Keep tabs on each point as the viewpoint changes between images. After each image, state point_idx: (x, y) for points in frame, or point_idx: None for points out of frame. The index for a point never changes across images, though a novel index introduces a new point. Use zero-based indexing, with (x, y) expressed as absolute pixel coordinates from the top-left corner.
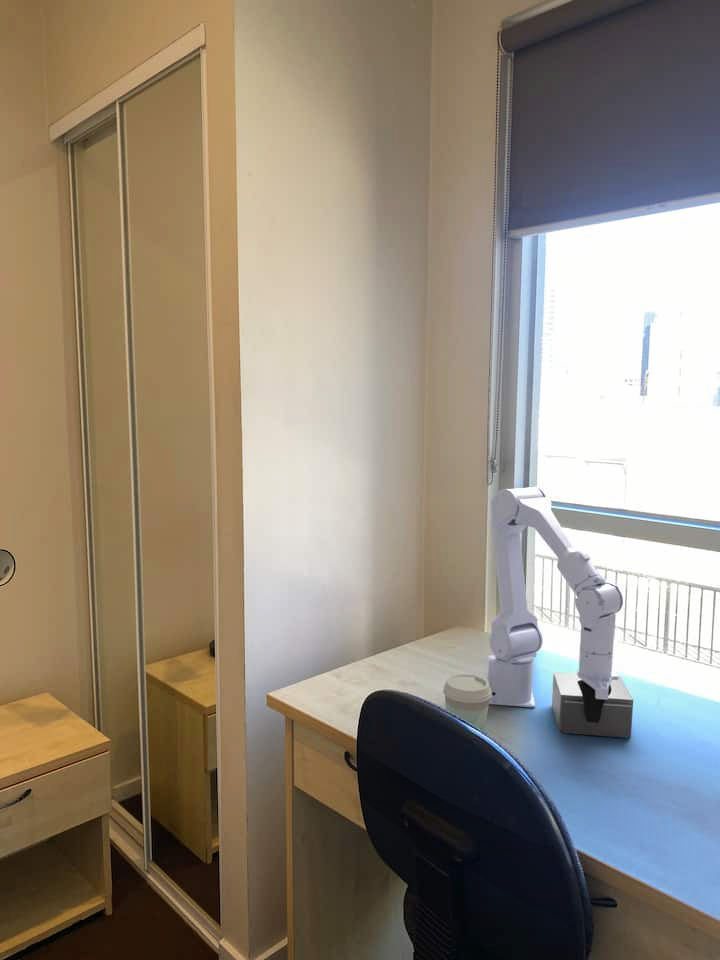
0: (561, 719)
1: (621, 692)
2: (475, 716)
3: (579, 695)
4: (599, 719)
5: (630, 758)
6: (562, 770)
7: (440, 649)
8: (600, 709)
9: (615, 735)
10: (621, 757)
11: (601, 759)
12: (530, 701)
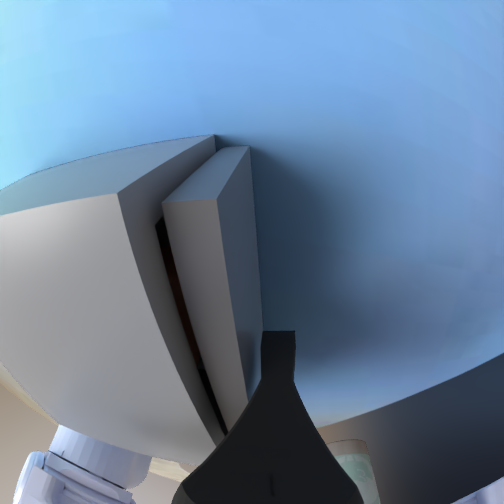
0: None
1: (32, 271)
2: (378, 497)
3: (212, 448)
4: (294, 341)
5: (420, 181)
6: (447, 356)
7: (40, 408)
8: (294, 385)
9: (254, 212)
10: (414, 213)
11: (422, 279)
12: None
